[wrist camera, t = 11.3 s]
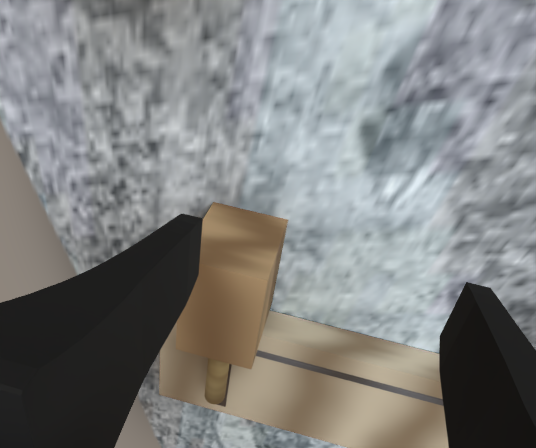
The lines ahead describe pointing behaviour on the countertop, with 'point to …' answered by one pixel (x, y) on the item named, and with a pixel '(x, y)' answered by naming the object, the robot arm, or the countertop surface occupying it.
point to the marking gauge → (231, 291)
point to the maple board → (323, 386)
